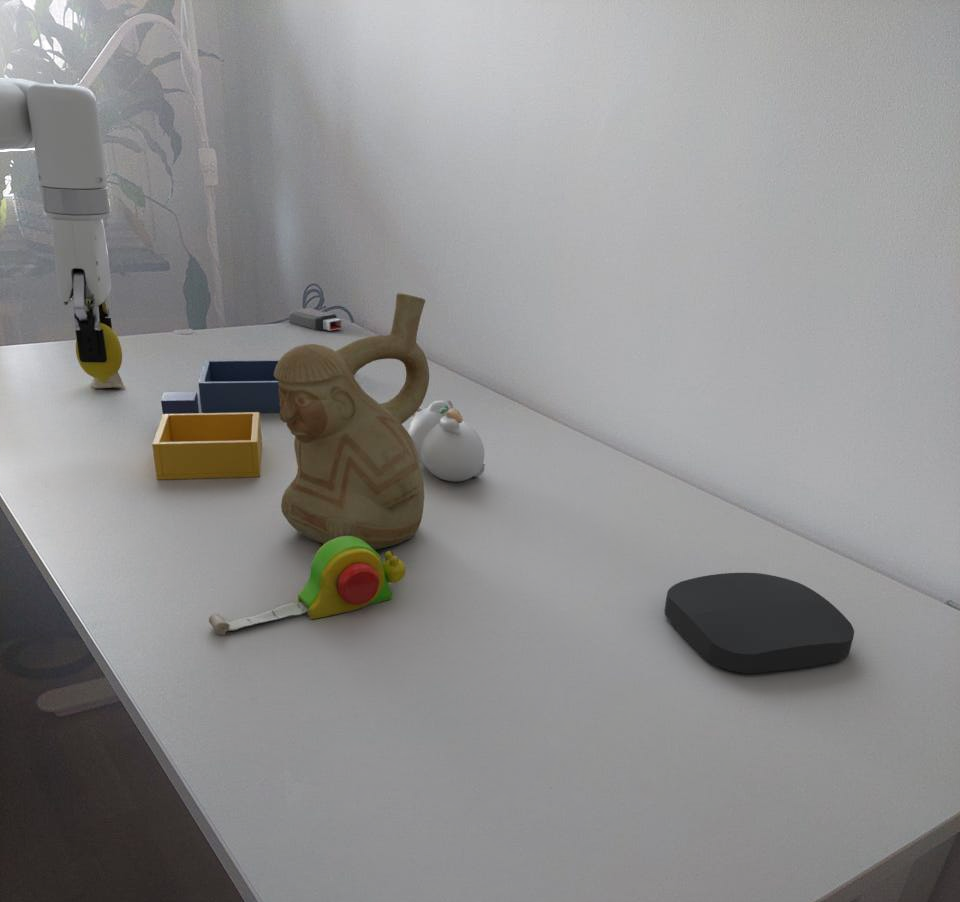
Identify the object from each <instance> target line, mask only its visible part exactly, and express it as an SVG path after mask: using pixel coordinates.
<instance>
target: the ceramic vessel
mask: <svg viewBox="0 0 960 902" xmlns="http://www.w3.org/2000/svg"><path fill="white" fill-rule="evenodd" d="M425 304H426V299H424V298H423V297H419V296H414V295H410V294H405V293H401V292H400V293H396V296H395V306H394V307H395V308H394V314H393V320H392V325H391V331H390V333H389V334H378V335H370V336H367V337H363V338H359V339H356V340H354V341H351V342H350V343H348V344H346V345H344V346H342V347H340V348H339V349H337V350H333V348H331V347H328V346H326V345H324V344H319V343H306V344H301V345H297V346H295V347H293V348H291V349H289V350H288V351H286V353H284V354H283V355H282V356H281V357H280V358H279V359H278V360H279V361H278V363H277V365H276V367H275V371H274V377H275V378H276V379H277V380H278V386H279V397H280V408H281V410H280V412H278V414H279V418H280V420H281V422H283V423H286V424H285V425H286V427H287V429H288V430H289V431H290V433H291V435H292V436H294V440H293V443H294V453H295V460H296V464H297V472H296V474H295V477H294V479H292V481H291V482H290V484H289V485H288V486H287V488H286V489H285V490H284V493H283V495H282V497H281V505H280V508H281V513H282V515H283V516H284V518H285V520H287V522H288V524H289V525H290V526H292V528H294V529H295V530H296V531H297V532H299V534H302V535H303V536H304V537H307V538H309V539H311V540H313V541H315V542H317V543H319V544H322V545H324V544H325V543H327V542H328V541H330V540H332V539H335V538H337V537H342V536H353V537H357V538H359V539H361V540H363V541H364V542H366V543H367V544H368V545H369V546H370V547H371V548H372V549H373V550H374V551H376V550H381V549H385V548H389V547H393V546H396V545H398V544H401V543H403V542H405V541H408V540H409V539H411V538H412V537H413V536H414V535H415V534H416V533H417V532H418V530H419V528H420V525H421V522H422V519H423V514H424V503H425V486H424V478H423V471H422V467H421V466H422V465H421V463H420V461H419V457H418V453H417V450H416V447H415V445H414V442H413V440H412V438H411V436H410V435H409V433H408V430H407V429H406V428H405V427H404V425H403V424H404V423H405V422H407V421H408V420H409V419H410V418H411V417H413V414H414V413H416V411H417V410H418V409H419V407H420V408H421V405H422V404H423V402H424V401H425V397H426V395H427V392H428V387H429V384H430V383H429V382H430V368H429V363H428V359H427V356H426V355H425V352H424V350H423V349H422V348H421V346H420V345H419V344H418V343H417V337H418V330H419V326H420V321H421V318H422V313H423V311H424V307H425ZM388 359H390V360H397V361H400V362H401V363H403V365H404V367H405V373H406V374H405V380H404V384H403V385H402V387H401V389H400V390H399V392H398V393H397V394H396V395H395V396H393V397H392V398H391V399H389V400H388V401H385V402H381V403H379V402H378V401H377V400H375V399H374V398H373V397H372V396H370V395H369V394H368V393H367V392H366V391H365V390H364V389H363V388H362V387H361V386H360V385H359V383H358V381H357V380H356V378H355V375H356V373H357V372H358V371H360V369H362V368H363V367H365V366H366V365H368V364H370V363H373V362H375V361H380V360H388Z"/></svg>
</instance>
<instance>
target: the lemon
mask: <svg viewBox="0 0 960 902" xmlns="http://www.w3.org/2000/svg"><path fill="white" fill-rule="evenodd" d="M100 329H103V332H104V340H105V347H106V354H107V360H106V362H104V363H100V362H81V361H80V358H79V351H78V345H77V338H76V339H75V354H76V358H77V361H78V364H79V365H80V367H81V369H82V370H83V371H84V372H85V374H87V375H89V376H90V377H92V378H94V377H95V378H97V379H98V380H99V381H100V382H102V383H104V382H106V381H107V380H108V378H110V377H111V376H113V375H115V374H116V373H117V372H118V373H119V370H121V369H120V368H121V366H122V363H123V350H122V345H121V343H120V339H119V337H118V335H117V334H116V332H115V331H114V329H113V328H112V329H111V328H110V327H109V326H107V325H105V324H103V323H100Z"/></svg>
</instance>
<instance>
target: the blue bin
mask: <svg viewBox="0 0 960 902" xmlns="http://www.w3.org/2000/svg"><path fill="white" fill-rule="evenodd" d="M279 360H280V359H205V360H204V362H203V366H202V370H201V373H200V376H199V380H198V383H197V384H198V392H199V401H200V409H201V413H245V412H253V413H254V412H259V414H263V413H264V414H267V413H268V414H269V413H275V414H276V413H280V410H281V408H280V397H279V386H278V380H277V379H276V378H275V377H274V371H275V367H276V365H277V363H278V361H279Z"/></svg>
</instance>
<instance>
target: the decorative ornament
mask: <svg viewBox="0 0 960 902" xmlns="http://www.w3.org/2000/svg"><path fill="white" fill-rule="evenodd" d="M90 384H91V387H92V388H94V389H96V390H97V389H106V388H107V389H111V388H120V389H121V388H122V389H126V386H125V385H124V382H123V380H122V377H121V375H120V373H119V371H118V372H117V373H116V374H115V375H113V376H111V377H110V378H108V380H107V381H106V382H104V383H102V382H100V381H99V380H98V379H97V378H95V377H93V379H91V383H90Z"/></svg>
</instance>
